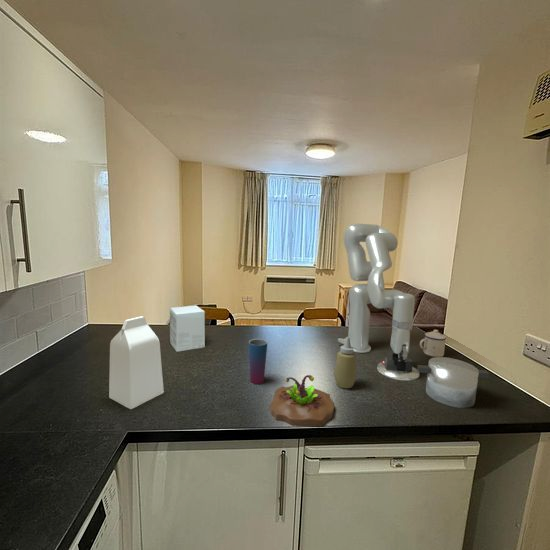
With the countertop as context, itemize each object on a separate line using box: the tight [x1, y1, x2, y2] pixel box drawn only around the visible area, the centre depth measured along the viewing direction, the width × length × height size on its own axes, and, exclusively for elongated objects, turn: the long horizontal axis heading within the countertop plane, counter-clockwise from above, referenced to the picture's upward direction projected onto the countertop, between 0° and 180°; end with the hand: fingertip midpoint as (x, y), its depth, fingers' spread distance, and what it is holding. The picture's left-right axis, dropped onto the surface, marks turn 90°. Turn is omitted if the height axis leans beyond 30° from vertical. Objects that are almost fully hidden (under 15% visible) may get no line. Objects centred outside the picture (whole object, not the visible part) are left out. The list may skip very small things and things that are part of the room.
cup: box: [248, 338, 268, 385], centre depth 113 cm, size 7×7×15 cm
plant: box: [269, 374, 335, 427], centre depth 97 cm, size 20×20×11 cm
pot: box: [416, 356, 490, 409], centre depth 108 cm, size 23×15×11 cm, turn 83°
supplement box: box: [169, 304, 206, 353], centre depth 146 cm, size 13×13×18 cm
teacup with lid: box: [419, 329, 447, 358], centre depth 146 cm, size 12×9×12 cm
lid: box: [376, 356, 420, 381], centre depth 126 cm, size 16×16×6 cm
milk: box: [108, 315, 165, 410], centre depth 100 cm, size 12×12×26 cm
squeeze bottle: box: [333, 336, 357, 389], centre depth 112 cm, size 8×8×18 cm
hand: (398, 366), depth 126 cm, fingers open, 6 cm apart
